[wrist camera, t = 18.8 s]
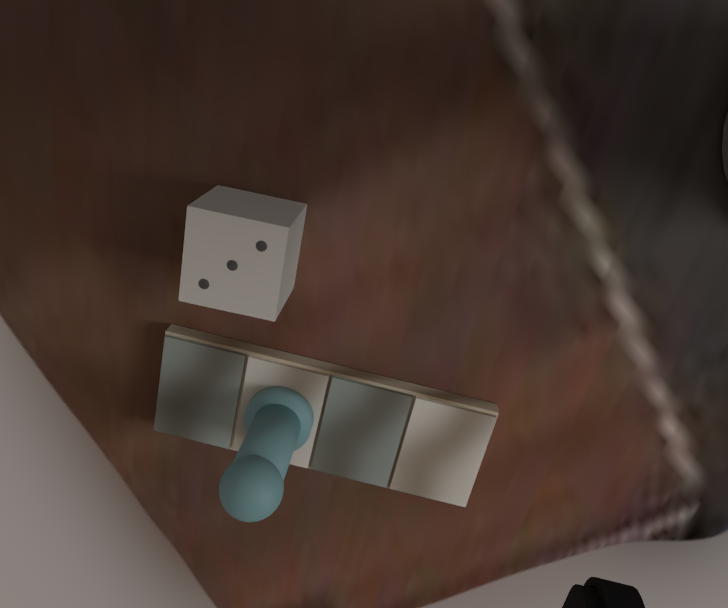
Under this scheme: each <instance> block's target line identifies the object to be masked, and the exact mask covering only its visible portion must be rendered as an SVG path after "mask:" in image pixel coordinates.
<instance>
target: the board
mask: <svg viewBox="0 0 728 608" xmlns="http://www.w3.org/2000/svg"><path fill="white" fill-rule="evenodd" d="M272 386H283V387H287V388H291V389H293V390H295V391H297V392H299V393H300V394H301V395H303V396H304V397H305V398H306V399H307V401H308V402H309V404H310V405H311V408H312V410H313V415H314V421H313V426H312V429H311V432H310V435H309V438H308V440H307V441H306V443H305V444H304V445H303V446H302V447H300V448H299V449H297V450H295V451H293V454H292V457H291V460H290V463H289V464H292V465H296V466H300V467H304V468H309V469H312V470H316V471H320V472H324V473H328V474H332V475H336V476H340V477H344V478H348V479H352V480H357V481H361V482H365V483H369V484H373V485H377V486H381V487H385V488H389V489H393V490H397V491H401V492H405V493H409V494H413V495H417V496H421V497H425V498H430V499H434V500H438V501H442V502H446V503H450V504H454V505H458V506H462V507H466V504H467V502H468V499H469V496H470V493H471V490H472V487H473V485H474V482H475V479H476V476H477V473H478V470H479V468H480V465H481V462H482V459H483V456H484V453H485V451H486V448H487V445H488V442H489V439H490V437H491V434H492V431H493V428H494V425H495V422H496V420H497V417H498V414H499V411H498V405H497V404H495V403H491V402H487V401H483V400H478V399H474V398H470V397H466V396H462V395H458V394H454V393H450V392H446V391H442V390H438V389H434V388H430V387H426V386H422V385H417V384H413V383H409V382H405V381H401V380H397V379H393V378H389V377H385V376H381V375H377V374H373V373H369V372H365V371H361V370H356V369H352V368H348V367H344V366H340V365H336V364H332V363H328V362H324V361H320V360H316V359H312V358H308V357H304V356H300V355H295V354H291V353H287V352H283V351H279V350H275V349H271V348H267V347H263V346H259V345H255V344H251V343H247V342H243V341H239V340H234V339H230V338H226V337H222V336H218V335H214V334H210V333H206V332H202V331H198V330H194V329H190V328H186V327H182V326H178V325H173V324H171V325H170V326H169V328H168V329H167V330H166V331H165V339H164V347H163V356H162V364H161V372H160V381H159V389H158V397H157V406H156V414H155V422H154V431H158V432H162V433H166V434H170V435H174V436H178V437H182V438H186V439H190V440H194V441H198V442H202V443H206V444H211V445H215V446H219V447H223V448H227V449H232V450H235V451H239V448H240V446H241V444H242V442H243V440H244V438H245V436H246V431H245V428H244V414H245V411H246V409H247V407H248V405H249V403H250V401H251V399H252V398H253V397H254V395H255V394H257V393H258V392H259V391H261V390H263V389H265V388H268V387H272Z"/></svg>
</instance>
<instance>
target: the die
mask: <svg viewBox="0 0 728 608" xmlns="http://www.w3.org/2000/svg"><path fill="white" fill-rule="evenodd" d="M306 209H307V204H305V203H300V202H295V201H291V200H286V199H281V198H277V197H272V196H267V195H263V194H258V193H253V192H249V191H244V190H239V189H235V188H230V187H225V186H221V185H217V186H216V187H214V188H213V189H211V190H210V191H208V192H207V193H205V194H204V195H202V196H201V197H200V198H198V199H197V200H195V201H194V202H192V203H191V204H189V205H188V206H187V214H186V225H185V236H184V246H183V257H182V268H181V279H180V290H179V301H182V302H187V303H191V304H196V305H200V306H205V307H210V308H214V309H219V310H223V311H228V312H233V313H237V314H242V315H246V316H251V317H256V318H260V319H265V320H269V321H274V322H275V320H276V319H277V317H278V315H279V313H280V311H281V310H282V308H283V306H284V304H285V302H286V301H287V299H288V297H289V295H290V294H291V292H292V290H293V288H294V283H295V277H296V270H297V264H298V258H299V252H300V246H301V240H302V234H303V227H304V221H305V215H306Z"/></svg>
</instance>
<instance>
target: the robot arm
mask: <svg viewBox="0 0 728 608" xmlns="http://www.w3.org/2000/svg"><path fill="white" fill-rule="evenodd" d="M722 157H723V165H724V173H725V176H726V179H727V182H728V112H727V115H726V119H725V123H724V128H723V140H722ZM562 608H645V606H644V604H643V601H642V598H641V596H640V594H639V592H638V590H637V589H636V588H634V587H633V586H629V585H625V584H621V583H617V582H613V581H609V580H604V579H600V578H596V577H591V578H589V579H588V580H587V581H586V583H585V584H584V586H582V585H576V584H575V585H574V586H573V587H572V588H571V590H570V592H569V594H568V596H567V598H566V601H565V603H564V605H563V607H562Z"/></svg>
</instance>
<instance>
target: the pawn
mask: <svg viewBox="0 0 728 608" xmlns="http://www.w3.org/2000/svg"><path fill="white" fill-rule="evenodd" d="M313 421H314V415H313V410H312V408H311V405H310V404H309V402H308V401H307V399H306V398H305V397H304V396H303V395H301V394H300V393H299V392H297V391H295V390H293V389H291V388H287V387H283V386H272V387H268V388H265V389H263V390H261V391H259V392H258V393H257V394H255V395H254V397H253V398H252V399H251V401H250V403H249V405H248V407H247V409H246V411H245V414H244V428H245V431H246V436H245V438H244V440H243V442H242V444H241V446H240V448H239V451H238V453H237V455H236V457H235V459H234V461H233V463H232V464H231V465H230V466H229V467H228V468H227V469H226V470H225V472H224V473H223V475H222V478H221V480H220V484H219V497H220V500H221V503H222V505H223V507H224V509H225V510H226V511H227V512H228V514H230V515H231V516H232V517H234V518H235V519H237V520H240V521H244V522H256V521H260V520H263V519H265V518H266V517H268V516H269V515H271V514H272V513H273V512H274V511H275V510H276V508H277V507H278V506H279V504H280V502H281V500H282V496H283V491H284V484H283V481H284V478H285V475H286V472H287V469H288V466H289V463H290V460H291V457H292V454H293V451H295V450H297V449H299V448H300V447H302V446H303V445H304V444H305V443H306V441H307V440H308V438H309V435H310V432H311V429H312V426H313Z"/></svg>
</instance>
